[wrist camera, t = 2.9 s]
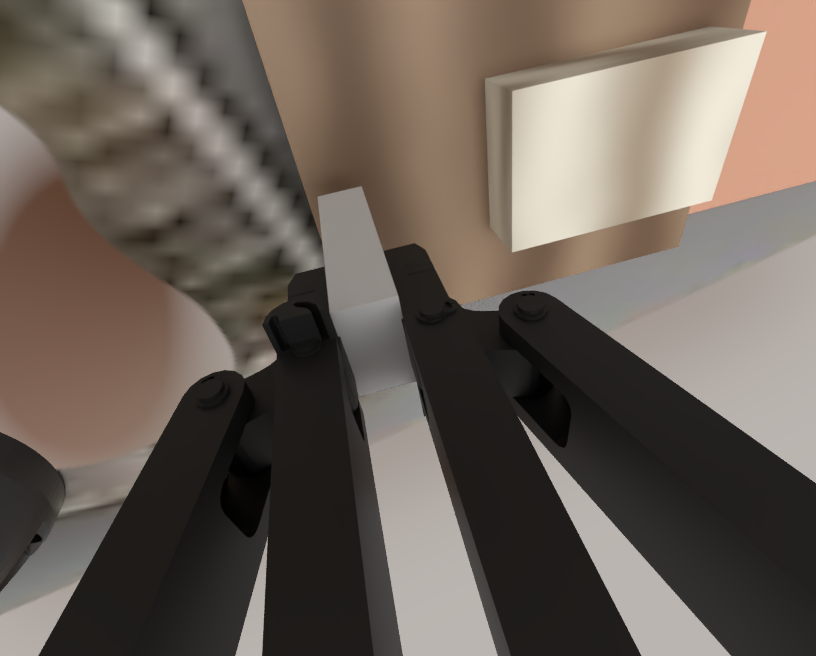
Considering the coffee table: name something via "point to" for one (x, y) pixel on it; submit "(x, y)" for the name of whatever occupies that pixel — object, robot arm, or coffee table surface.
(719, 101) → the birch tile
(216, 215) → the coffee table surface
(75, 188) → the coffee table surface
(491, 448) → the robot arm
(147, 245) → the coffee table surface
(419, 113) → the block
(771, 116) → the terracotta mat
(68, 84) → the coffee table surface
